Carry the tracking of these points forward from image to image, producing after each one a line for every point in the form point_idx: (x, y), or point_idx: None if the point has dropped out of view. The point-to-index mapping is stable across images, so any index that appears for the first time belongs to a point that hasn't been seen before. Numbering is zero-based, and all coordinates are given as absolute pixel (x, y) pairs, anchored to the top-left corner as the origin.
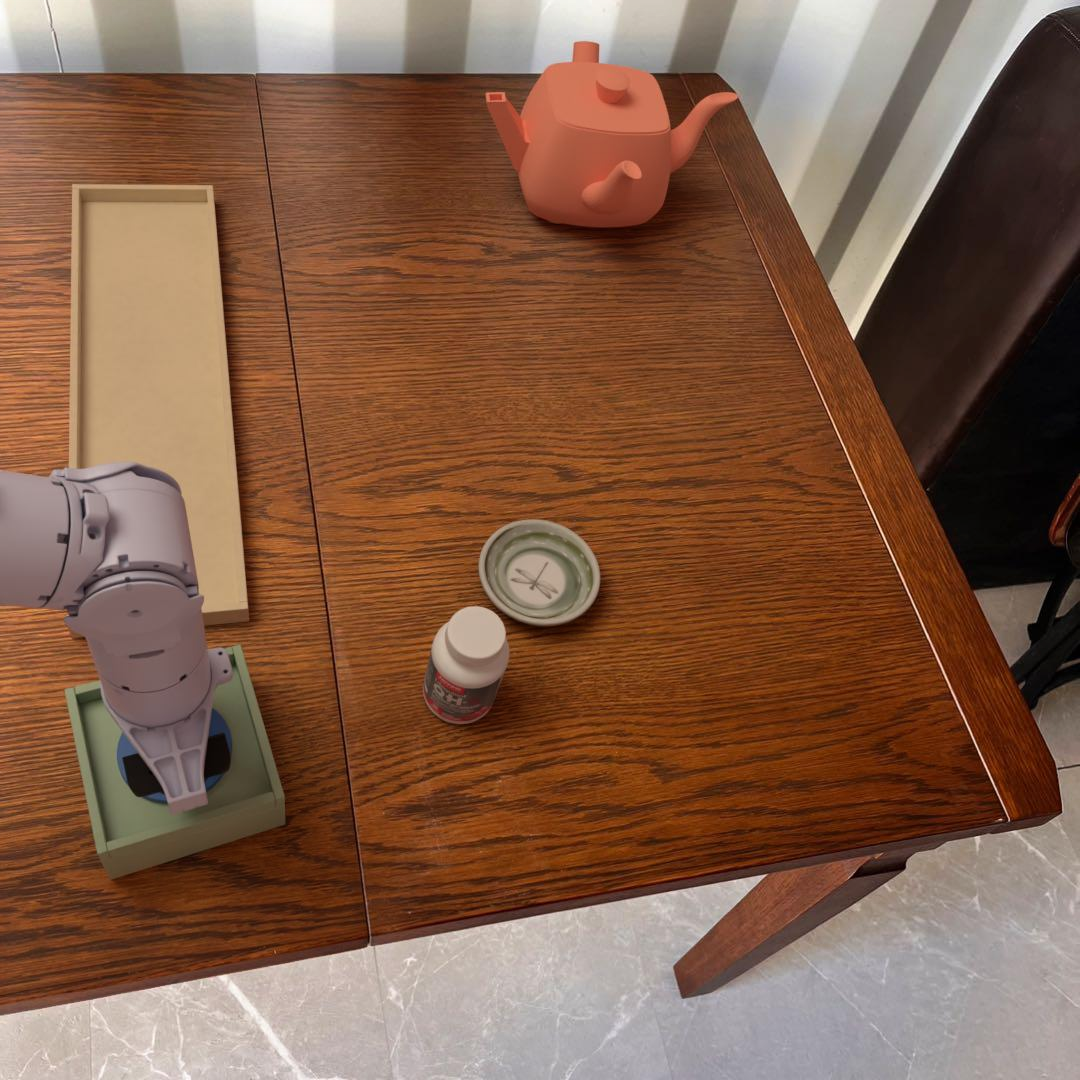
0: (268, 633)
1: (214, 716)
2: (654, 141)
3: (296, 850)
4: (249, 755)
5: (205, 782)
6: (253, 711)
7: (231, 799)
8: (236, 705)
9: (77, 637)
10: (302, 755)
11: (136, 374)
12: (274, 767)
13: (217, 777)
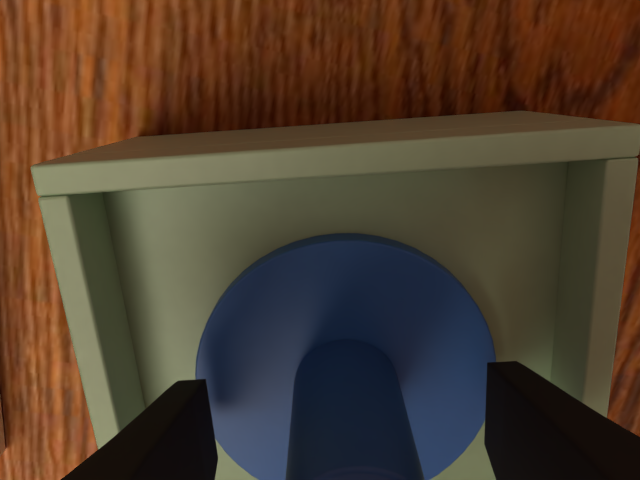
0: (9, 50)
1: (276, 274)
2: None
3: (590, 97)
4: (411, 191)
5: (538, 374)
6: (301, 168)
7: (525, 261)
8: (244, 200)
9: (4, 442)
10: (366, 32)
11: None
12: (529, 138)
13: (467, 296)
